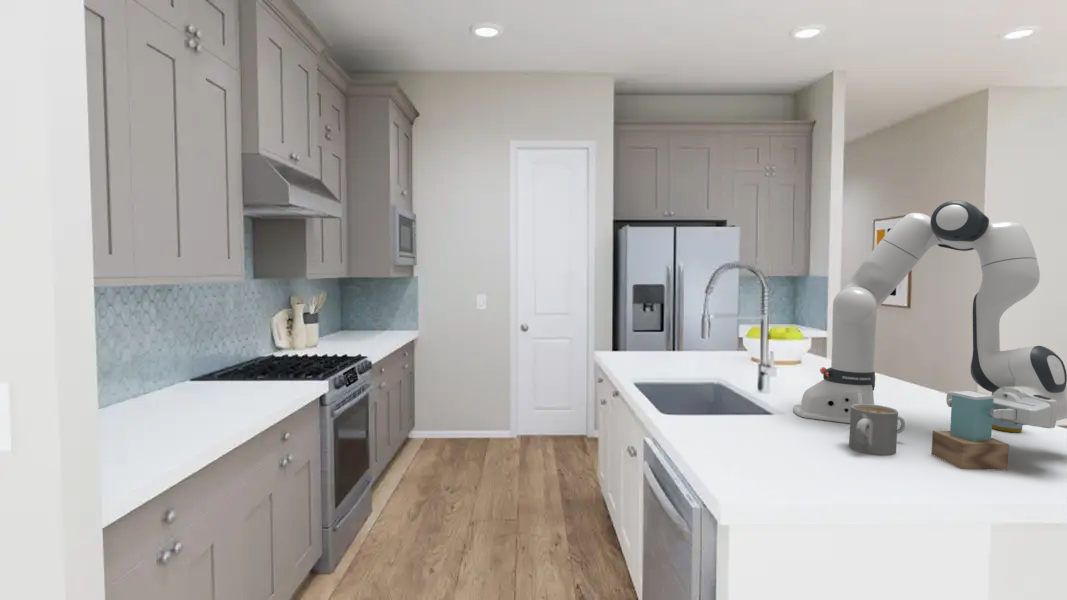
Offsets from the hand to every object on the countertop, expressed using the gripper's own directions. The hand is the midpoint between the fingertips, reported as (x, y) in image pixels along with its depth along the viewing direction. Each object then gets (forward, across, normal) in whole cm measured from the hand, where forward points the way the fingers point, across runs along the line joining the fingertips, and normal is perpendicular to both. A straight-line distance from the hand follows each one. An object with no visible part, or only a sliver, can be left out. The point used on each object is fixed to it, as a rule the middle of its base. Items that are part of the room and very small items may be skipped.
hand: (970, 408), depth 132 cm
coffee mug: (+15, -13, +13) cm, 24 cm away
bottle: (-38, -18, +13) cm, 44 cm away
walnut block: (0, 0, +13) cm, 13 cm away
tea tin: (-1, 0, +7) cm, 7 cm away
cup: (+6, -18, +13) cm, 23 cm away
